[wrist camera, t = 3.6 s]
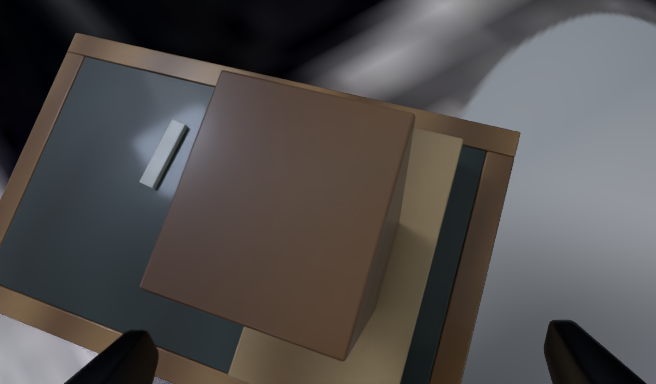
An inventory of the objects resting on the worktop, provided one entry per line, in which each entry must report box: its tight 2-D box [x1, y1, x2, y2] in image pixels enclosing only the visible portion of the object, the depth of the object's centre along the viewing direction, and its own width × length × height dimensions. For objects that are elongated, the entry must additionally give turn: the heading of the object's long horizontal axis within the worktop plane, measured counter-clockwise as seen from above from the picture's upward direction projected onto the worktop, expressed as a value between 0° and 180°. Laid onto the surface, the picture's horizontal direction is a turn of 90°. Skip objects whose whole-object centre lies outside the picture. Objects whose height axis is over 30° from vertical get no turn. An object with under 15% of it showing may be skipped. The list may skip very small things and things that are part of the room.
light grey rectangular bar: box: [139, 120, 187, 189], centre depth 21 cm, size 1×4×1 cm, turn 155°
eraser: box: [140, 70, 463, 384], centre depth 12 cm, size 6×11×13 cm, turn 162°
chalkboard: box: [0, 33, 520, 384], centre depth 20 cm, size 24×15×1 cm, turn 72°
